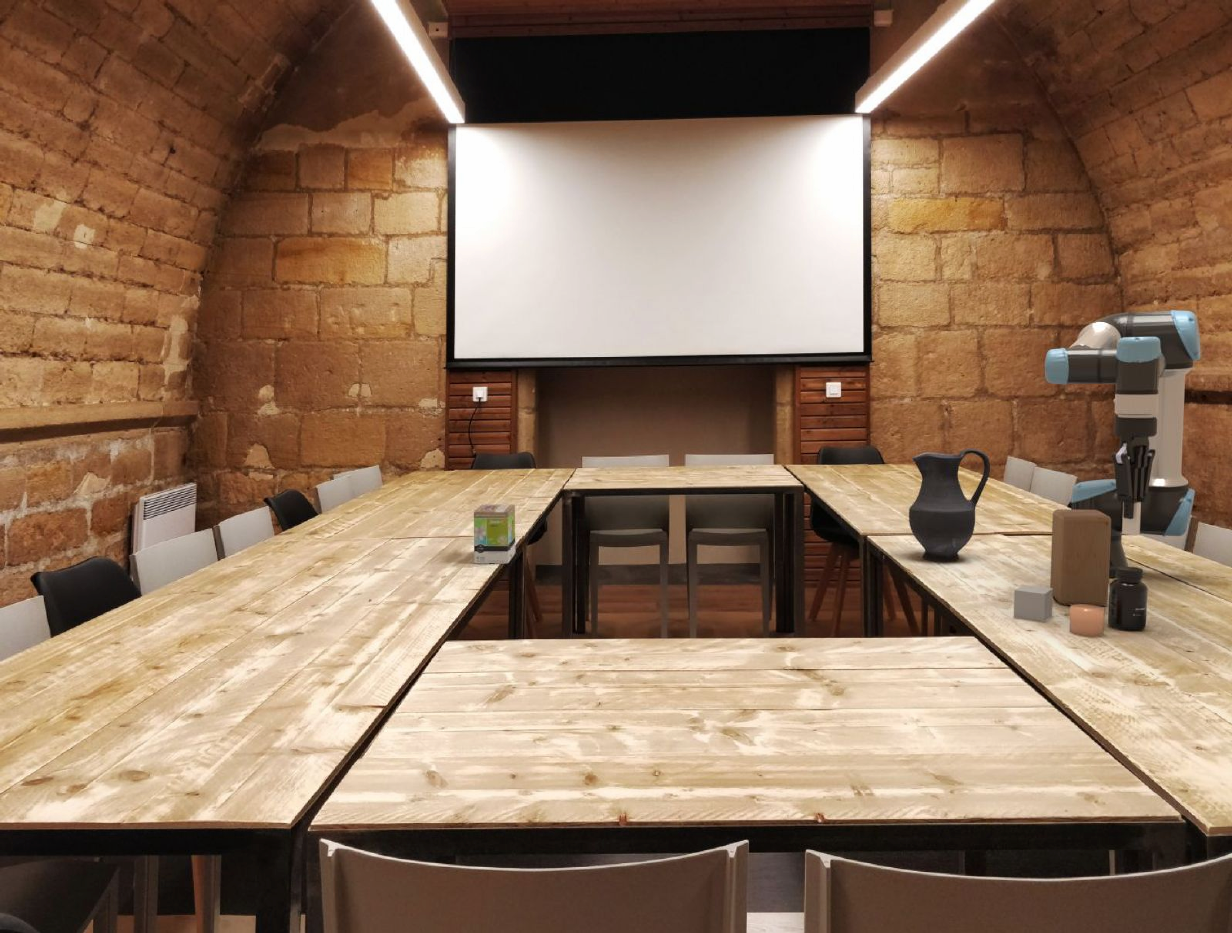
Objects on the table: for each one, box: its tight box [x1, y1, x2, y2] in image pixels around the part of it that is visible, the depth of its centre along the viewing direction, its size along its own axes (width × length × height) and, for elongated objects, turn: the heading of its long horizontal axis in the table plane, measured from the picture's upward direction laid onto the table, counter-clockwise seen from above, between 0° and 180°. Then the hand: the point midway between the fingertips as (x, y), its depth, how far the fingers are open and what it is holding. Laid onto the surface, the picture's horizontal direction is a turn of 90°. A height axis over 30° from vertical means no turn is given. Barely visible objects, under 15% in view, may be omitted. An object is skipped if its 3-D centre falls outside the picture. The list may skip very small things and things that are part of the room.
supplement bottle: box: [1107, 565, 1149, 632], centre depth 193 cm, size 7×7×12 cm
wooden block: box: [1049, 508, 1111, 607], centre depth 214 cm, size 10×10×20 cm
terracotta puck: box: [1069, 604, 1105, 638], centre depth 190 cm, size 6×6×5 cm
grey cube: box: [1013, 584, 1054, 623], centre depth 202 cm, size 6×6×6 cm
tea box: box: [473, 504, 516, 565], centre depth 271 cm, size 15×10×15 cm
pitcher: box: [908, 448, 991, 563], centre depth 261 cm, size 17×21×30 cm
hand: (1130, 534), depth 192 cm, fingers closed
